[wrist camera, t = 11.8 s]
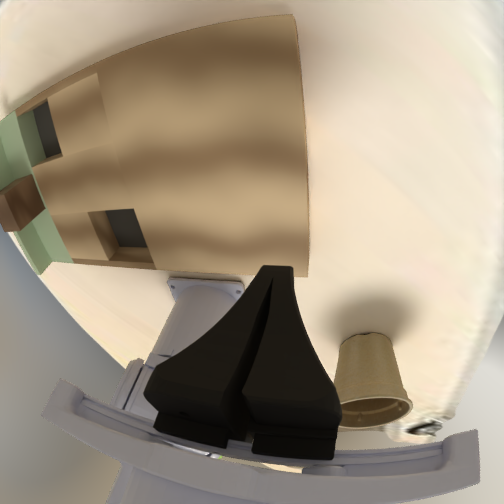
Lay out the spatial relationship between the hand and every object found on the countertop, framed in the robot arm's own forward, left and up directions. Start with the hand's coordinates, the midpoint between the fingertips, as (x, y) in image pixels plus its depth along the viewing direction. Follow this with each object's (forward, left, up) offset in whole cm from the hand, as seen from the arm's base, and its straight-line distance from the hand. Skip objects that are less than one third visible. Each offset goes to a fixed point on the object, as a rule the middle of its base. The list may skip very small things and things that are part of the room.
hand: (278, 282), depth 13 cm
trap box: (+3, +14, -9) cm, 17 cm away
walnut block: (+3, +26, -7) cm, 27 cm away
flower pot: (-19, -8, -10) cm, 23 cm away
